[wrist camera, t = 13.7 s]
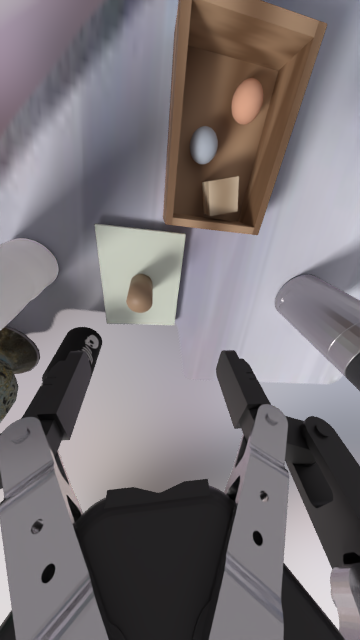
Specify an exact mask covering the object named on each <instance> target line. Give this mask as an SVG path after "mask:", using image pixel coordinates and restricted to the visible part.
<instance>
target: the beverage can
mask: <svg viewBox="0 0 360 640" xmlns="http://www.w3.org/2000/svg"><path fill="white" fill-rule="evenodd" d="M101 345H102V339H101V337H100V335H99V334H98V333H97V332H96V331H94V330H93V329H90V328H87V327H78V328H74V329H72V330H70V331H69V332H68V333H67V335H66V337H65V338H64V340H63V342H62V344H61V345H60V347H59V349H58V350H57V352H56V354H55V355H54V357H53V359H52V361H51V362H50V364H49V366H48V367H47V369H46V371H45V373H44V374H43V377H42V381H44V379H46V376H47V374H48V373H49V371H50V369H51V368H52V367H53V366H54V365H55V364H56V363H58V362H59V361H65V360H66V358H67V356H68V354H69V353H70V352H71V351H86V352H87V355H88V359H89V363H90V367H91V376H92V373H93V370H94V367H95V364H96V360H97V357H98V355H99V351H100V349H101ZM90 379H91V378H90ZM41 386H42V384H41Z"/></svg>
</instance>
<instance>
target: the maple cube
mask: <svg viewBox="0 0 360 640" xmlns="http://www.w3.org/2000/svg"><path fill="white" fill-rule="evenodd" d="M238 186H239V176H237V177H230V178H224V179H218V180H213V181H207V182H202V191H203V209H204V214H206V215H209V216H214V215H220V214H225V213H231V212H237V211H238Z"/></svg>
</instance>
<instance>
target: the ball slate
mask: <svg viewBox="0 0 360 640" xmlns="http://www.w3.org/2000/svg"><path fill="white" fill-rule="evenodd" d="M217 147H218V140H217V136H216V133H215V132H214V130H213V129H212V128H210V127H208V126H202V127H200V128H198V129H197V130H196V131H195V132H194V133H193V135H192V137H191V140H190V153H191V156H192V158H193V159H194V161H195V162H197V163H199V164H207V163H209V162H210V161H211V160H212V159H213V158H214V156H215V154H216V152H217Z"/></svg>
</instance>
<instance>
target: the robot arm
mask: <svg viewBox="0 0 360 640" xmlns="http://www.w3.org/2000/svg"><path fill="white" fill-rule="evenodd" d="M275 307H276V309H277V311H278V312H279V313H280V314H281V315H282V316H283V317H284V318H285V319H286V320H287V321H288V322H289V323H290V324H291V325H292V326H294V327H295V328H296V329H297V330H298V331H299V332H300V333H301V334H302V335H303V336H304V337H305V338H306V339H307V340H308V341H309V342H310V343H311V344H312V345H313V346H314V347H315V348H316V349H317V350H318V351H319V352H320V353H321V354H322V355H323V356H324V357H325V358H326V359H327V360H328V361H330V362H331V363H332V364H333V365H334V366H335V367H336V368H337V369H338V370H339V371H340V372H341V373H342V374H343V375H344V376H345V377H346V378H347V379H348V380H349V381H350V382H351V383H352V384H353V385H354V386H355V387H356V388H357V389H358V390H359V391H360V300H358V299H356V298H354V297H353V296H351V295H349V294H347V293H345V292H343V291H341V290H340V289H338V288H336V287H334V286H332V285H331V284H329V283H327V282H325V281H323V280H321V279H319V278H317V277H316V276H313V275H308V274H306V275H300V276H297V277H295V278H293V279H291V280H290V281H289V282H287V283H286V284H285V285H284V286H283V287H282V288H281V289H280V291H279V292H278V294H277V297H276V300H275ZM216 373H217V378H218V381H219V384H220V387H221V390H222V392H223V396H224V399H225V402H226V404H227V408H228V411H229V413H230V417H231V420H232V423H233V426H234V428H235V429H236V428H242V431H243V435H242V438H241V442H240V445H239V449H238V452H237V455H236V459H235V462H234V466H233V469H232V472H231V474H230V477H229V479H228V482H227V484H226V487H225V491H224V493H223V492H222V491H220V490H219V489H216V488H214V487H212V486H209V485H208V479H203V480H194V481H186V482H182V483H180V484H178V485H176V486H174V487H172V488H170V489H168V490H166V491H163V492H161V493H156V492H151V491H147V490H143V489H139V488H134V487H132V488H122V489H114V490H108V491H107V495H106V498H104V499H102V500H100V501H99V502H97V503H95V504H94V505H92V506H91V507H90V508H89V509H88V510H87V511H85V513H83V512H82V509H81V507H80V504H79V501H78V499H77V497H76V495H75V493H74V491H73V488H72V486H71V483H70V481H69V478H68V476H67V473H66V470H65V468H64V465H63V462H62V459H61V457H60V454H59V451H58V448H59V446H60V443H61V440H70V437H71V434H72V432H73V429H74V425H75V423H76V420H77V417H78V414H79V411H80V408H81V405H82V402H83V399H84V396H85V393H86V391H87V387H88V385H89V382H90V378H91V367H90V363H89V359H88V355H87V352H86V351H71V352H70V353H69V354H68V356H67V358H66V360H65V361H59V362H58V363H56V364H55V365H54V366H53V367H52V368H51V369H50V371H49V373H48V374H47V376H46V379H44V381H43V383H42V386H40V388H39V390H38V392H37V393H36V395H35V397H34V399H33V400H32V402H31V404H30V405H29V407H28V409H27V410H26V412H25V414H24V415H23V417H22V418H21V419H19V420H17V421H15V422H14V423H12V424H11V425H9V426H8V427H7V428H6V429H5V430H4V431H3V432H2V433H1V434H0V489H1V488H3V491H4V500H3V501H2V502H1V503H0V524H1V531H2V539H3V546H4V554H5V561H6V569H7V576H8V584H9V591H10V598H11V605H12V611H11V612H10V613H9V615H8V616H7V617H6V619H5V620H4V622H3V623H2V625H1V626H0V640H360V466H359V464H358V463H357V462H356V460H355V459H354V457H353V456H352V454H351V453H350V452H349V450H348V449H347V447H346V446H345V444H344V443H343V442H342V440H341V439H340V437H339V436H338V434H337V433H336V432H335V430H334V429H333V428H332V427H331V426H330V425H329V424H328V423H327V422H325V421H324V420H322V419H320V418H318V417H314V416H311V417H308V418H307V419H306V420H305V421H301V420H298V419H294V418H291V417H287V416H285V415H284V414H283V413H282V412H281V411H280V410H279V409H278V408H276V407H275V406H272V405H271V404H270V402H269V400H268V399H267V397H266V395H265V393H264V391H263V389H262V387H261V385H260V384H259V382H258V380H257V378H256V376H255V374H253V371H252V369H251V367H250V365H249V364H248V363H247V362H246V361H245V360H244V359H239V357H238V355H237V353H236V352H235V351H234V350H228V351H222V352H221V354H220V357H219V361H218V364H217V368H216ZM285 461H286V463H287V466H288V468H289V470H290V472H291V475H292V477H293V480H294V482H295V484H296V486H297V489H298V491H299V493H300V496H301V498H302V500H303V503H304V505H305V507H306V510H307V512H308V514H309V516H310V519H311V521H312V523H313V526H314V528H315V530H316V533H317V535H318V537H319V539H320V542H321V544H322V546H323V549H324V551H325V553H326V555H327V557H328V560H329V562H330V565H331V567H332V569H333V570H332V572H331V577H330V583H331V596H332V599H333V602H334V604H335V606H336V607H337V610H338V614H339V624H340V627H339V630H338V629H337V628H336V627H335V625H334V624H333V623H332V622H331V620H330V619H329V618H328V617H327V616H326V614H325V613H324V612H323V611H322V609H321V608H320V607H319V606H318V605H317V603H316V602H315V601H314V600H313V598H312V597H311V596H310V595H309V593H308V592H307V591H306V590H305V589H304V587H303V586H302V585H301V584H300V583H299V581H298V580H297V579H296V577H295V576H294V575H293V574H292V572H291V571H290V570H289V569H288V568H287V566H286V565H285V564H284V563H283V560H284V546H285V531H286V518H287V503H288V489H289V473H288V471H287V470H286V469H285V466H284V463H285Z"/></svg>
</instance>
